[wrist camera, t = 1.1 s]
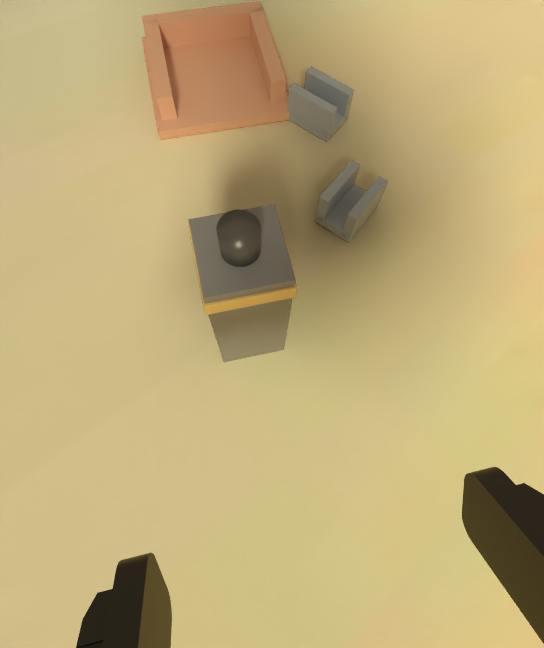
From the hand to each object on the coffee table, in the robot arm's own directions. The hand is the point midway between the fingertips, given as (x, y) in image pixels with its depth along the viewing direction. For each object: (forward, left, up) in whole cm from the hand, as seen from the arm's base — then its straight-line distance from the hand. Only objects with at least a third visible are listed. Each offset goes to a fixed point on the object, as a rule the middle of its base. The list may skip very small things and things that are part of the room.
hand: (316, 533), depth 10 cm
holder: (-10, +32, -14) cm, 37 cm away
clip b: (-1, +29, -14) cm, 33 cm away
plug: (-4, +10, -14) cm, 18 cm away
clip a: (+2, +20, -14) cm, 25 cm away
